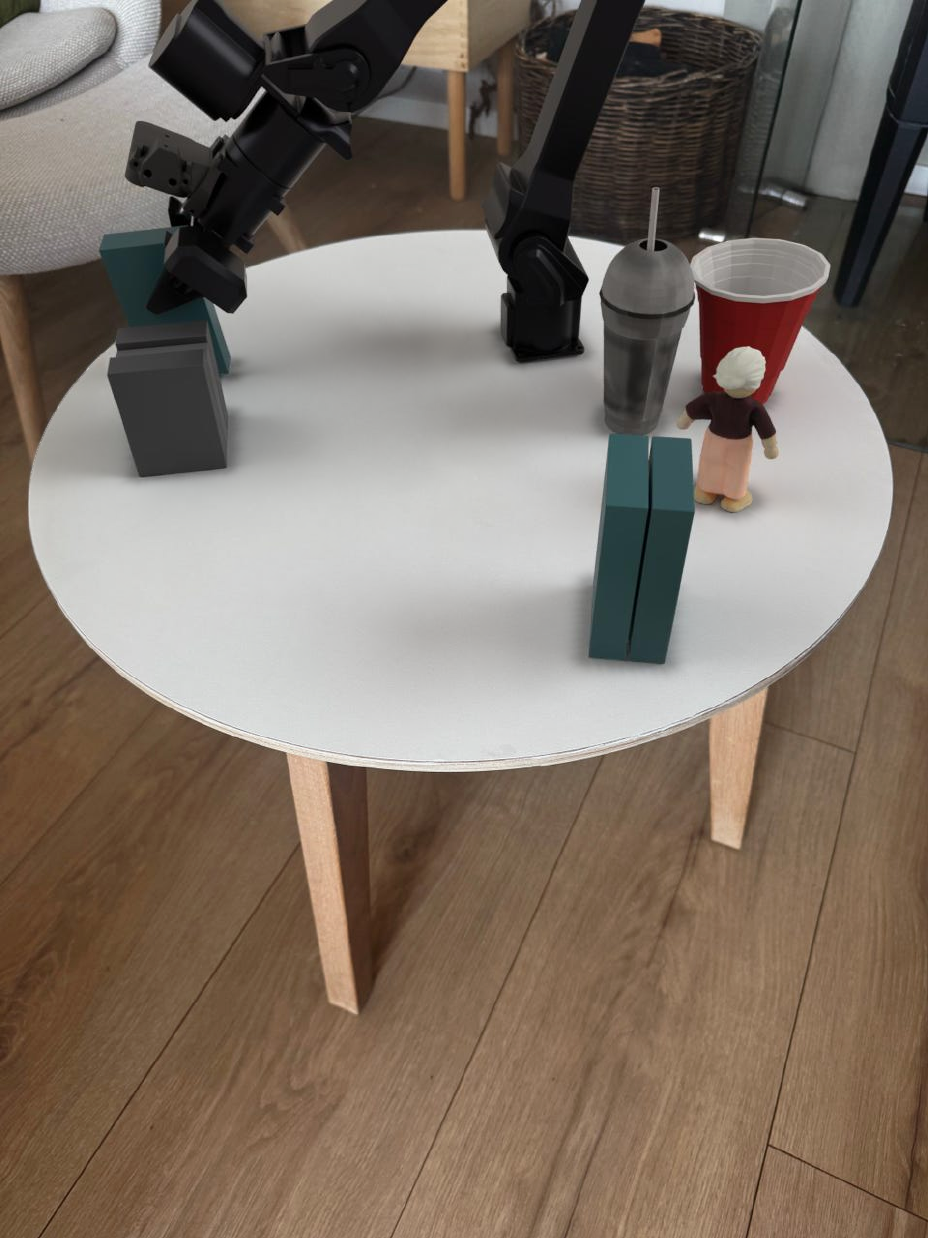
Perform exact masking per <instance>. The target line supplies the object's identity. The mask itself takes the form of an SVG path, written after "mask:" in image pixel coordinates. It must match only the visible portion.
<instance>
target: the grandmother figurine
mask: <svg viewBox="0 0 928 1238" xmlns="http://www.w3.org/2000/svg"><path fill="white" fill-rule="evenodd" d="M765 363H766V361H765V357H763V356H762V354H761V352H760V351H759V350H756V349H753V348H751V347H749V346H748V347H740V348H735V349H734V350H732V351H731V352H729V353H728V354H727V355H726V356H725V358H723V359H722V360H721V361H720V363H719V365H718V367H717V373H716V375H713V377H714V378H716V380H717V383H718V385H719V386H721V387H723V388H724V390H725V392H721V391H712V392H708V393H705V394H704V393H702V394H701V395H699V396H697V397H695V398H694V399H693V400H691V401H689V402H687V403H686V404H685V406H684V411H683V412H682V413H681V415H680V416H679V417H678V418H677V419H676V427H677V428H678V429H680V430H687V429H689V428H690V426H691V424H692V423H693V422H695V421H697V420H699V421H701V420H704V421H710V422H709V424H708V426H707V427H706V429H705V432H704V437H703V440H702V444H701V448H700V453H699V458H698V459H699V460H698V468H697V469H698V470H697V477H696V484H695V485H694V502H696V503H697V504H698V503H699V504H702V505H710V504H713V502H715V500H716V499H717V498H718V496H719V495H724V497H723V499H721V502H720V507H721V508H722V509H723V510H725V511H727V512H728V513H729V512H730V513H738V512H740V511H742V510H743V509H745V508H747V507H748V506H750V505H751V504H752V503H753V495H752V493H751V492H750V491H749V490H748V489H747V488H748V484H749V478H750V472H751V471H750V470H751V465H752V464H751V463H752V458H753V450H754V438H753V427H754V429H755V431H756V433H757V436H758V437H759V439H760V440H761V445H762V447H763V455H764V457H765V458H766V459H768V460H775V459H777V457H778V456H779V455H780V450H779V448H778V446H777V445H778V441H777V435H776V434H777V429H776V427H775V425H774V423H773V420H772V418H771V416H770V414H769V412H768V410H767V409H766V407H765V406H764V404H763V405H762V404H761V403H760V402H758V401H757V400H755V399H753V398H752V397H750V395H751V394H753V393H754V392H755V390H756V389H757V388H759V386H760V383H761V380H762V379H763V378H764V372H765V370H766V369H765Z"/></svg>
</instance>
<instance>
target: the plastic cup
mask: <svg viewBox="0 0 928 1238" xmlns="http://www.w3.org/2000/svg"><path fill="white" fill-rule="evenodd" d="M689 264H690V267H691V269H692V272H693V276H694V286H695V290H696V297H697V303H698V322H699V324H698V325H699V329H698V330H699V356H700V363H701V364H700V367H701V368H700V371H701V372H700V384H701V387H702V394H705V393H708V392H712V391H721V392H725V390H724V388H723V387H721V386H719V385H718V383H717V380H716V378H714V377H713V375H716V373H717V367H718V365H719V363H720V361H721V360H722V359H723V358H725V356H726V355H727V354H728V353H729V352H731V351H732V350H734V349H735V348H740V347H748V346H749V347H751V348H753V349H756V350H759V351H760V352H761V354H762V356H763V357H765V361H766V363H765V369H766V370H765V372H764V378H763V379H762V380H761V383H760V386H759V388H757V389H756V390H755V392H754V393H753V394H751V395H750V397H752V398H753V399H755V400H757V401H758V402H760V403H761V404H762V405H763V406H764V404H766V403H767V402H768V400H769V398H770V397H771V396H772V393H773V391H774V389H775V387H776V384H777V382H778V380H779V377H780V375H781V372H783V370H784V369H785V367H786V364H787V362H788V360H789V357H790V355H791V353H792V351H793V348H794V345H795V342H797V341H796V340H797V339H798V336H799V333H800V331H801V329H802V326H803V324H804V322H805V320H806V317H807V315H808V314H809V313H810V310H811V307H812V305H813V302H815V300H816V297H817V294H818V292H820V289H821V288H822V286H823V285H825V284H826V283H827V281H828V279H829V275H830V270H831V263H830V262H829V261H828V260H827V259H826V257H825V256H824V254H823V253H822V252H819V251H817V250H815V249H813V248H811V247H809V246H807V245H805V244H802V243H797V242H793V241H790V240H785V239H781V238H764V237H749V238H740V239H729V240H726V241H721V242H720V243H717V244H716V243H715V244H713V245H709V246H707V247H705V248H704V249H702V250H700V252H698V253H697V254H695V255H694V256H693V257H692V259H691V262H690V263H689Z"/></svg>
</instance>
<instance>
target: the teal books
mask: <svg viewBox="0 0 928 1238" xmlns="http://www.w3.org/2000/svg"><path fill="white" fill-rule="evenodd" d="M649 440H650V438H649V435H647V434H646V435H630V434H618V433H616V432H614V433H613V432H610V433H609V434H608V441H607V449H606V450H607V451H606V460H605V471H604V479H603V489H602V495H601V496H602V498H601V505H600V515H599V525H598V533H597V543H596V551H595V560H594V561H595V562H594V571H593V579H592V591H591V592H592V593H591V608H590V625H589V640H588V641H589V642H588V658H589V659H599V660H611V661H626V657H627V656H628V657H627V658H628V659H627V660H628V661H629V662H637V663H648V664H661V665H665V664H666V662H667V661H666V660H667V656H668V650H669V645H670V642H671V641H670V640H671V635H672V631H673V625H674V620H675V615H676V610H677V604H678V600H679V595H680V591H681V585H682V580H683V574H684V570H685V564H686V559H687V555H688V549H689V543H690V539H691V535H692V528H693V524H694V518H695V514H696V505H695V504H696V503H695V502H696V501H695V500H694V490H695V483H694V481H695V480H694V461H693V460H694V459H693V440H692V438H690V437H673V436H657V435H653V436H651V441H650V443H649ZM649 446H650V449H649ZM627 651H628V652H627ZM627 653H628V654H627Z"/></svg>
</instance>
